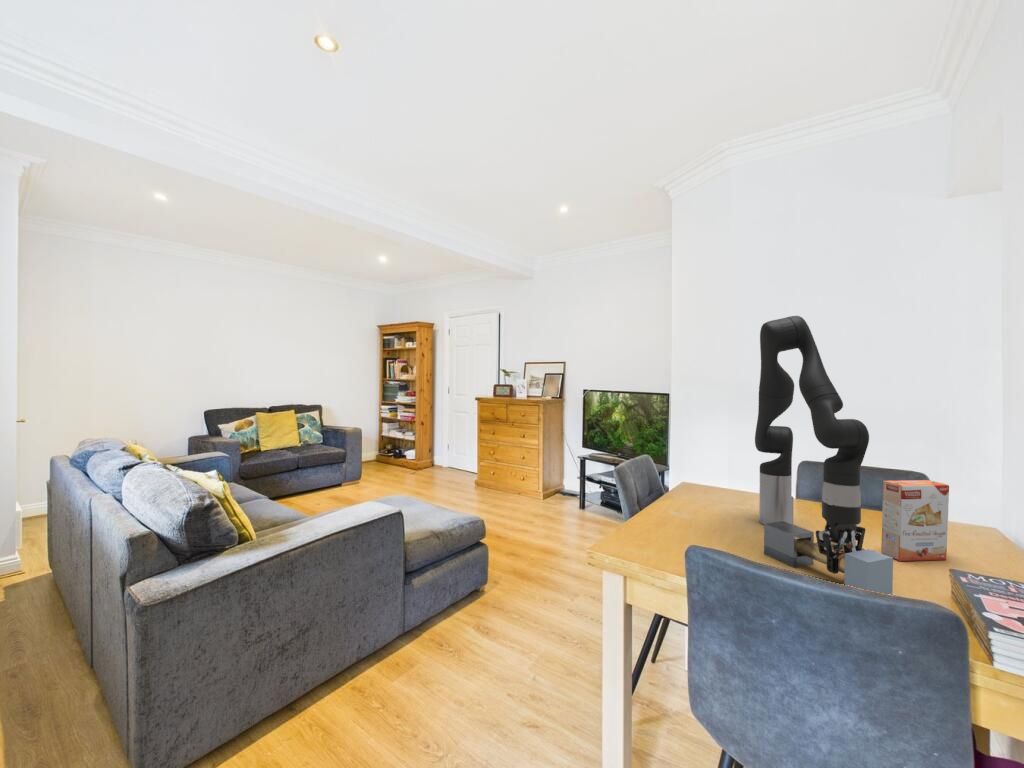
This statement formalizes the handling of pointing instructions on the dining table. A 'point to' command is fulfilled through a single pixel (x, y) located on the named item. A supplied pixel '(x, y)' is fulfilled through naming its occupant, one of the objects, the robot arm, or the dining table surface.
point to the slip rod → (818, 553)
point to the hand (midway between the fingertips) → (840, 570)
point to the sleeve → (786, 543)
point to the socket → (869, 571)
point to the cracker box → (915, 520)
